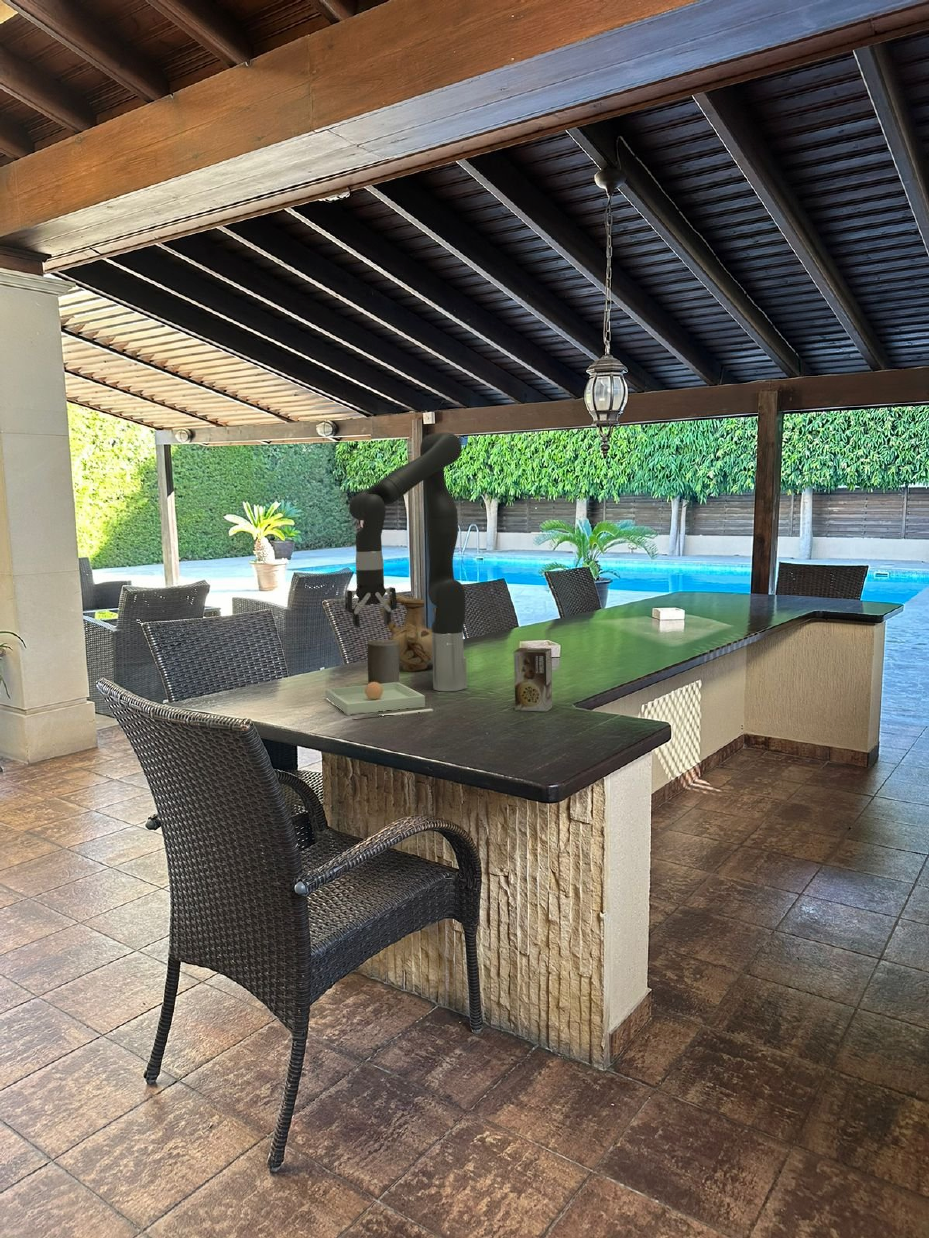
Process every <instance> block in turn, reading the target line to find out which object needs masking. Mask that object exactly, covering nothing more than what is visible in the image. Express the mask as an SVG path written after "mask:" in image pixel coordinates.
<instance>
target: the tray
mask: <svg viewBox="0 0 929 1238" xmlns="http://www.w3.org/2000/svg"><path fill="white" fill-rule="evenodd" d="M367 685H368V684H365V685H357V686H355V685H354V686H344V687H336V688H325V690H324V691H325V699H326V698H328V699H329V700H330V701H331V702H333V703H334V704H335V705H337V706H338V707H339V708H341V709H342V710H343V711H344V712H346V713H347V714H348V713H355V712H356V713H357V712H374V713H379V712H378V711H383V712H387V711H386V710H392V711H399V710H398V709H400V710H407V709H406V708H409V709H417V708H424V707H426V695H424V694H422V693H420V692H418V691H416V690H414V689H412V688H410V687H409V686H407V685H405V684H403V683H401V682H400V681H399V682H393V683H383V684H380V685H381V686H382V688H383V693H382V696H381V697H380V698H378V699H376V700H372V699H369V698H368V697H367V696H366V694H365V688H366V686H367Z"/></svg>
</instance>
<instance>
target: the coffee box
mask: <svg viewBox="0 0 929 1238" xmlns="http://www.w3.org/2000/svg"><path fill="white" fill-rule="evenodd" d="M552 658H553V657H552V648H549V647H548V648H543V647H519V648H517V649H516V650H515V651H513V665H514V666H513V668H514V669H513V670H514V672H513V673H514V674H513V675H514V711H529V712H546V713H547V712H549V711H550V710H551V709H552V708H553V672H552V671H553V666H552V662H553V661H552Z"/></svg>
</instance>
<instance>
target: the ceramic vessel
mask: <svg viewBox="0 0 929 1238" xmlns="http://www.w3.org/2000/svg"><path fill="white" fill-rule="evenodd" d="M396 600H397V604H401V605H403V606H404V608H405V610H406V612H405V613H406V614H405V618H404V622H403V626H401V627H400V626H397V625H396V624H394V622H393V620H392V619H391V622H390V623H389V625H386V627H387V628H388V629H389V631H391V636H390V639H389V640H393V641H397V642H399V662H400V663H401V665H402V666H401V667H402V668H401V669H402V670H403V671H406V672H407V671H408V672H414V671H415V672H416V671H417V672H418V671H422V670H425V669H427V667H428V662H429V661H433V646H432V627H431V628H427V627H426V626H425V624H424V620H423V612H424V606H425V600H424V599H421V598H415V597H414V598H407V597H405V596H403V595H396ZM385 601H386V602H387V604H388V606H389V605H390V599H389V598H388V599H387V600H385ZM381 608H382V609H381V616H382V619H383V621H384V611H385V610H384V609H383V607H381ZM432 610H433V613H434V614H433V615H434V617H433V619H434V621H435V616H436V607H434V608H433V609H432ZM434 621H433V622H434Z"/></svg>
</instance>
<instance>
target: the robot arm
mask: <svg viewBox="0 0 929 1238" xmlns="http://www.w3.org/2000/svg"><path fill="white" fill-rule="evenodd" d="M419 449H420V451H419V452H420V456H419V457H417V458H415V459H414V460H412V461H410V462H408V463H406V464H404V465H403V464H402V465H401V466H400V467H398V468H396V469H394V470H393V471H392V472H390V473H389V474H387V475H386V476H385V477H383V478H382V479H381V480H380V481H378V482H377V483H375V484H374V485H372V486H369V487H367V488H366V489H364V490H362V491H360V492H359V493H358V494H356V495H355V496H354V497H353V498H352V499H351V501H350V503H349V506H348V507H349V513H350V515H351V517H352V518H353V519H355V520H358V521H362V522H363V523H362V528H361V529H360V530H357V531H356V533H355V551H356V552H355V574H356V579H355V580H356V589H355V590H350V589H347V590H345V591H344V592H345V594H344V595H345V597H344V598H345V599H344V600H345V601H344V606H345V607H344V610H345V612H347V613H350V614H351V615H352V625H353V626H354V628H357V629H358V628H360V626H361V624H360V614H359V612H361V609H362V608H363V607H364V606H370V605H380V606H381V608H383V609H384V610H385V611H384V620H383V622H384V623H383V624H384V625H385V626H387V625H389V623H390V622H391V620H392V615H391V613H392V611H394V610H396V609H397V608H398V603H397V600H396V596H397V591H396V588H395V587H392V586H390V587H387V588H385V577H384V576H385V574H384V571H385V570H384V565H385V564H384V557H383V551H382V550H383V549H382V548H383V546H382V545H383V544H382V534H383V530H384V524H385V519H386V512H387V511H386V506H388V505H391V504H393V503H396V502H397V501H398V500H400V499H401V498H402V497H403V496H404V495H405V494H407V493H408V492H410V491H411V490H412V489H414V488H415V487H416V486H417V485H419V484H420V483H421V482H423V483H424V496H425V497H424V498H425V508H426V510H425V512H426V514H425V515H426V517H425V518H426V532H427V534H426V535H427V546H428V547H427V548H428V549H427V550H428V561H429V562H428V563H429V566H428V567H429V568H428V571H429V573H428V583H427V584H428V589H427V594H428V598H429V601H430V602H431V604H432V605H434V606H435V609H436V616H435V615H434V616H435V621H433V622H432V624H431V628H432V646H433V659H432V684H433V685H432V686H433V687H432V688H433V690H435V691H438V692H456V691H457V692H458V691H462V690H466V689H467V685H468V683H467V681H468V680H467V657H466V656H464V626H465V625H464V624H465V621H466V592H465V589H464V586H463V584H462V582H461V581H459V580H457V579H455V574H454V564H453V562H454V554H455V549H456V547H457V546H456V545H457V541H458V536H459V518H458V510H457V506H456V503H455V501H454V500H453V497H452V495H451V493H450V491H449V489H448V486H447V484H446V477H445V468H446V467H448V466H449V465H451V464H454V463H455V462H457V461H458V459H459V458H460V456H461V453H462V443H461V440H460V438H459V437H458V436H457V435H455V434H454V433H451V432H440V433H433V434H432V433H431V434H428V435H426V436H425V437H423V439H422V441H421V444H420V448H419ZM385 595H387V596H388V599H390V605H389V606H388V604H387V602H386V601H387V600H385V599H384V596H385ZM355 596H356V597H357V598H358V599H357V601H356V602H355V604H354V606H353V599H354V597H355Z"/></svg>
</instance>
